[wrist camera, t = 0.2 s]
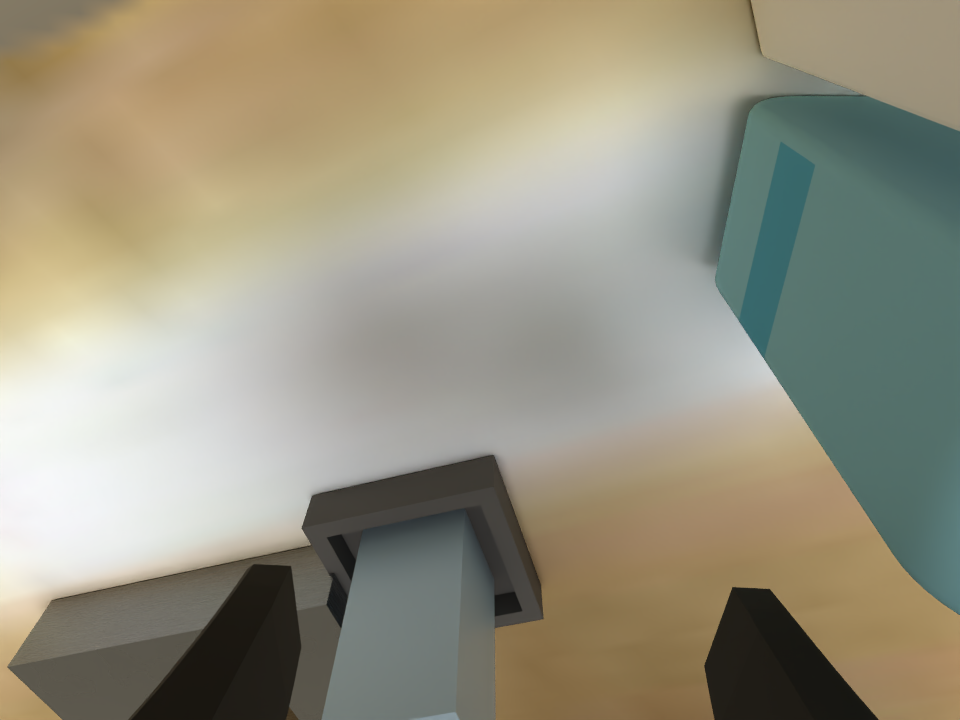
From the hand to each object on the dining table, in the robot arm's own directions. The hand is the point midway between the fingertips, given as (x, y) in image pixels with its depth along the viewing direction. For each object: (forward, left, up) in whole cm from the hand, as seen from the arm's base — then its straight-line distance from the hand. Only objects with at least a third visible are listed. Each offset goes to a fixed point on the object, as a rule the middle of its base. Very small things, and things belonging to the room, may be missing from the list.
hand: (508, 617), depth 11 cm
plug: (-7, +5, -9) cm, 13 cm away
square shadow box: (-7, +5, -10) cm, 13 cm away
